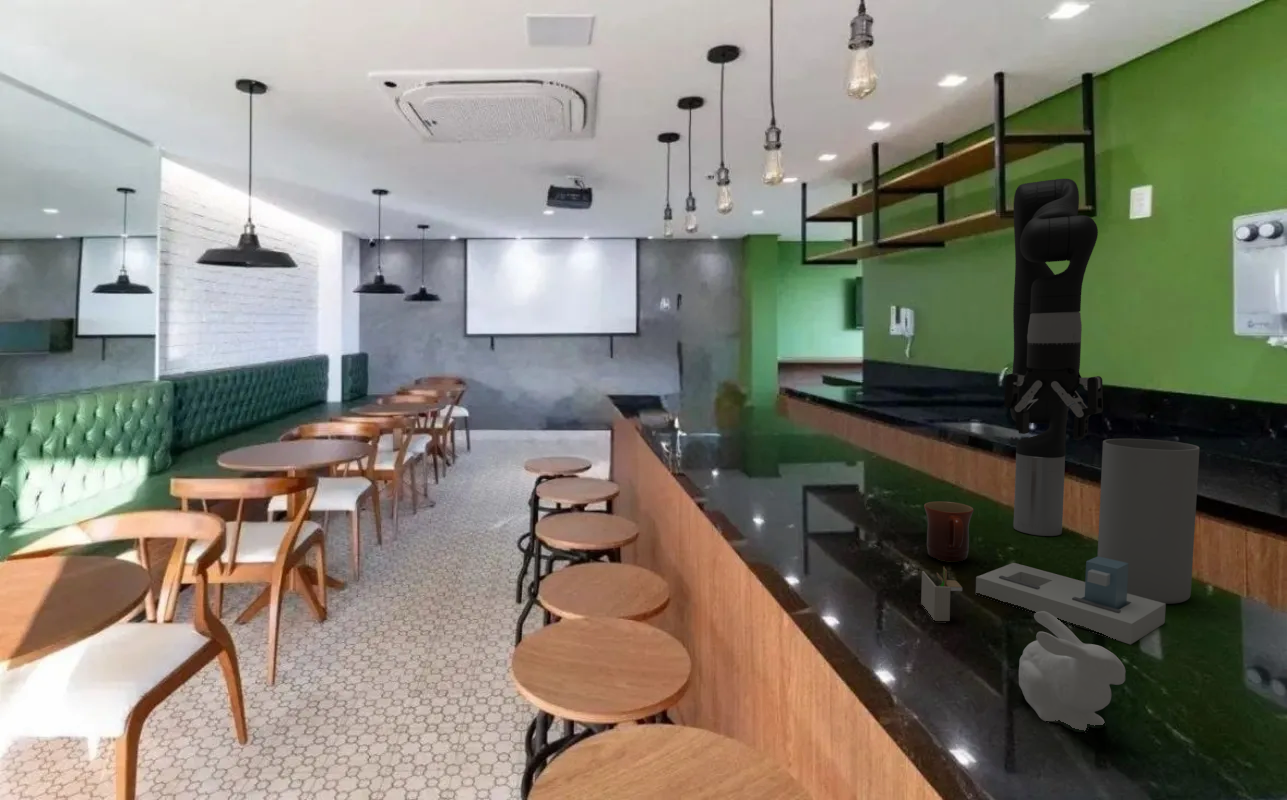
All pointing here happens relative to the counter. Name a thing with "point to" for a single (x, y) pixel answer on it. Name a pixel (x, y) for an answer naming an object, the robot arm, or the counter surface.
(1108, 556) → the cylinder vase
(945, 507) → the mug
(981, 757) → the counter surface
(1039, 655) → the rabbit
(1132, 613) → the port panel
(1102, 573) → the plug
